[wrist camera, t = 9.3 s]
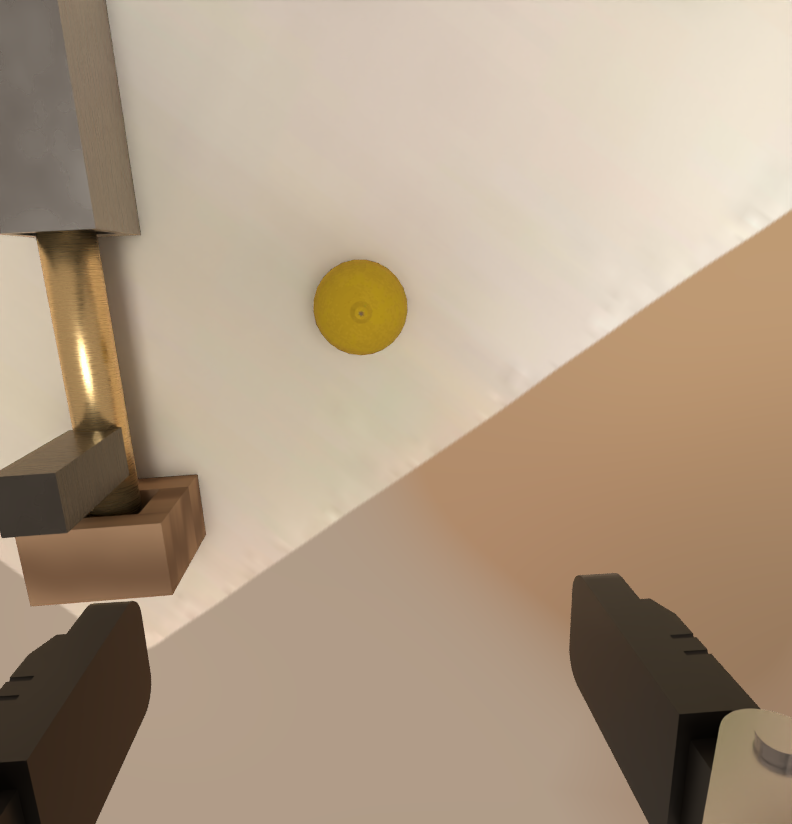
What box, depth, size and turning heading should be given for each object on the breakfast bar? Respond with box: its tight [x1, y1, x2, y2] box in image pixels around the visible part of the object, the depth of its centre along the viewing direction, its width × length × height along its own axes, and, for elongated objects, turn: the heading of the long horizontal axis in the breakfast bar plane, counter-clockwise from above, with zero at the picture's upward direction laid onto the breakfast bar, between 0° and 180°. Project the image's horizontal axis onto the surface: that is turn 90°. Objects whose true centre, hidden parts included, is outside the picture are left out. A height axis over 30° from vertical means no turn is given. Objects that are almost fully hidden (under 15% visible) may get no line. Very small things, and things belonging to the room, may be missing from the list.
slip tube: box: [0, 230, 143, 538], centre depth 32 cm, size 22×3×10 cm, turn 3°
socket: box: [15, 475, 206, 606], centre depth 38 cm, size 4×8×8 cm, turn 93°
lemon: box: [314, 260, 407, 355], centre depth 35 cm, size 6×6×8 cm
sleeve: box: [0, 0, 141, 238], centre depth 32 cm, size 13×5×7 cm, turn 3°
